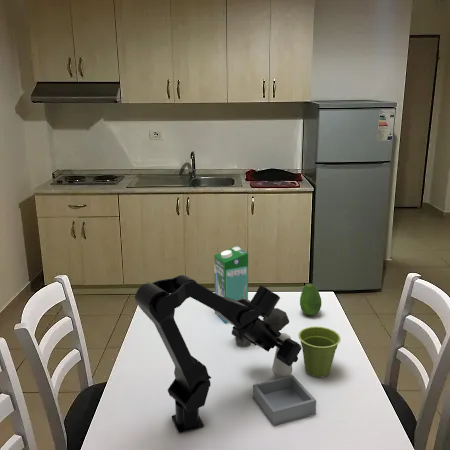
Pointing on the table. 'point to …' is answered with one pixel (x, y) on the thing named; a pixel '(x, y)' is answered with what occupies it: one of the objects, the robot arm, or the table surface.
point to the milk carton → (231, 274)
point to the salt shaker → (278, 366)
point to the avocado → (310, 300)
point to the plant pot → (318, 349)
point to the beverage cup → (242, 341)
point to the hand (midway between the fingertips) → (285, 353)
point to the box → (284, 400)
